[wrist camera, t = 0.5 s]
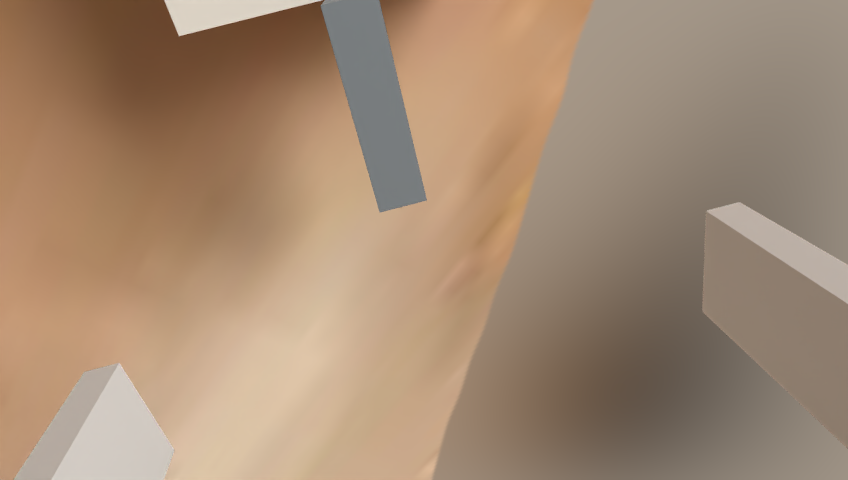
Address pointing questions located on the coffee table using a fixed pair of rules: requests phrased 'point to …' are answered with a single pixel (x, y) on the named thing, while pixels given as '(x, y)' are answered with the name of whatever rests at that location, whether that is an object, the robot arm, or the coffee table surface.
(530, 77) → the coffee table surface
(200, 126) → the coffee table surface
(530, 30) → the coffee table surface
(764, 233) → the robot arm
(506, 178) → the coffee table surface
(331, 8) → the flap
